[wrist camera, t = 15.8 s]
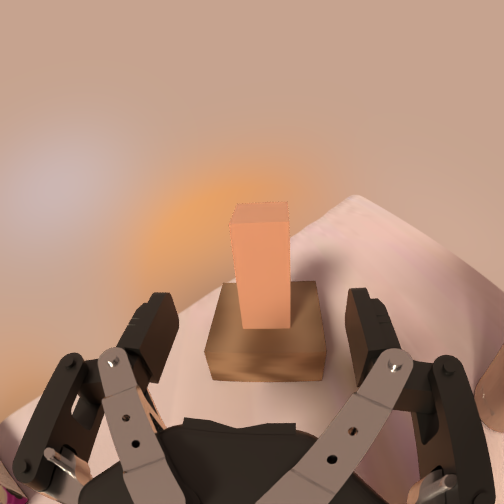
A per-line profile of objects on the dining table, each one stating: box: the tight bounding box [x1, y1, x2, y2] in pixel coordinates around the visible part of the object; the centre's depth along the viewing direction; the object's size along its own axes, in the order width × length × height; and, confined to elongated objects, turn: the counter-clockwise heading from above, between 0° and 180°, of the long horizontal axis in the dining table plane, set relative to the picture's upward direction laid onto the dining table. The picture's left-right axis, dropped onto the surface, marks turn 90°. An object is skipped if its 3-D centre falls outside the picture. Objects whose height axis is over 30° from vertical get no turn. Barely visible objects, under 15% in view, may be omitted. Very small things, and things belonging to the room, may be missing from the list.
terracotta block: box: [229, 202, 290, 329], centre depth 29 cm, size 5×5×12 cm
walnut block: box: [204, 281, 326, 382], centre depth 33 cm, size 12×12×5 cm
